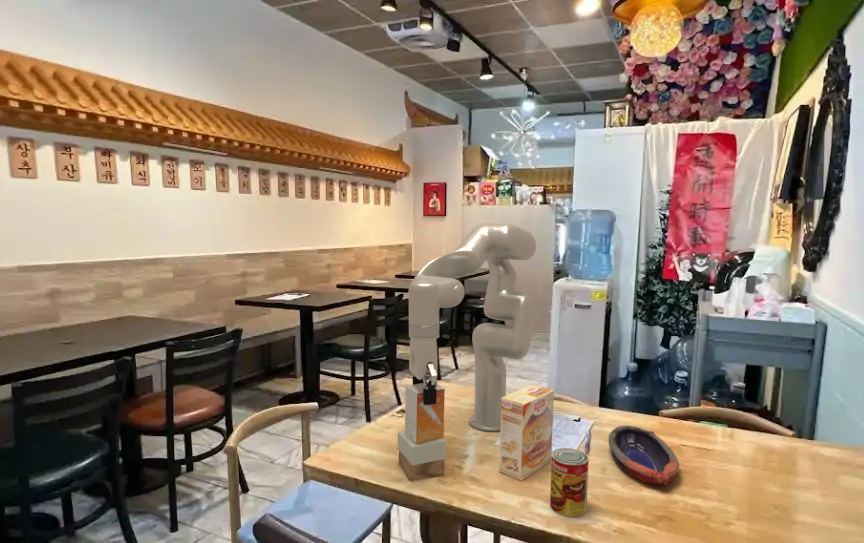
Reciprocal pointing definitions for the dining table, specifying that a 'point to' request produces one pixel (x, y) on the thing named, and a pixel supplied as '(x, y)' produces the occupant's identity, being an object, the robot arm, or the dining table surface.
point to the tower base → (421, 469)
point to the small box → (423, 415)
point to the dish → (643, 454)
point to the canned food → (569, 482)
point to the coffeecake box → (526, 431)
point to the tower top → (421, 449)
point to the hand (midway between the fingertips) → (424, 397)
